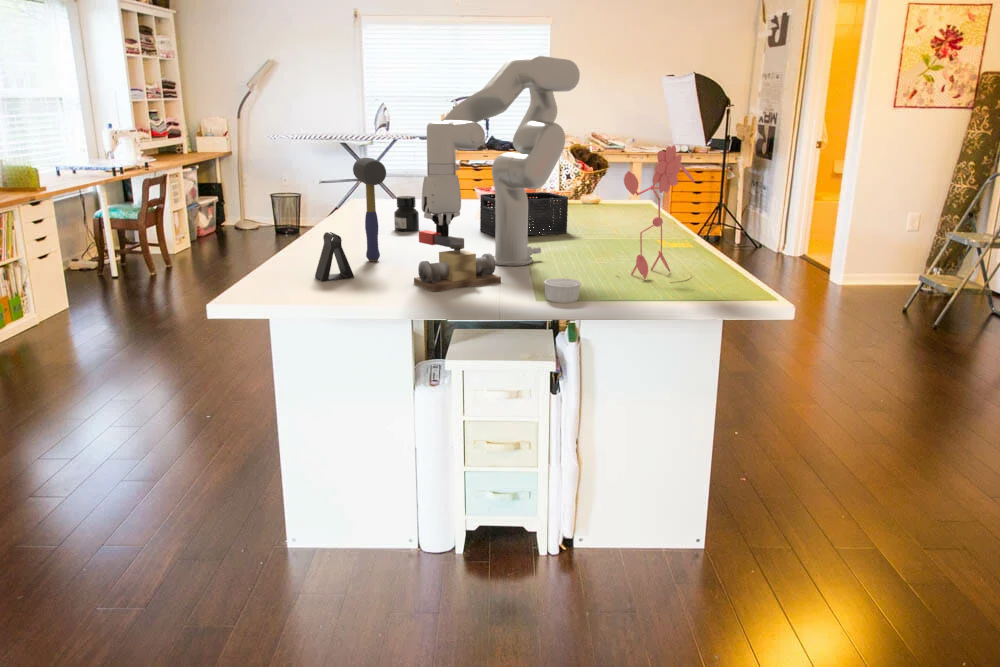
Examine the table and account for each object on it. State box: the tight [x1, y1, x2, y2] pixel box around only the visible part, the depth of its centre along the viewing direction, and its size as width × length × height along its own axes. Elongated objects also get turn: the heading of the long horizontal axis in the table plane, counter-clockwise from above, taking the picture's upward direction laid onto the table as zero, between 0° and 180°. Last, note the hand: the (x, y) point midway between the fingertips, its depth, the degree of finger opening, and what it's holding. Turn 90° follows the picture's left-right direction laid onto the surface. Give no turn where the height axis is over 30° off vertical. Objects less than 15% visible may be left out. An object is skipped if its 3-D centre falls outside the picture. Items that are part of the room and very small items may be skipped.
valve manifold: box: [413, 249, 502, 293], centre depth 201 cm, size 20×11×9 cm, turn 123°
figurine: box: [615, 145, 696, 284], centre depth 206 cm, size 15×26×35 cm, turn 133°
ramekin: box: [543, 277, 582, 304], centre depth 187 cm, size 9×9×4 cm
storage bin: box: [479, 191, 569, 237], centre depth 279 cm, size 29×19×13 cm
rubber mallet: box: [352, 157, 387, 262], centre depth 225 cm, size 12×8×30 cm, turn 25°
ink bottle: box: [393, 195, 420, 232], centre depth 282 cm, size 10×9×12 cm
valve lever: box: [418, 229, 465, 250], centre depth 204 cm, size 16×4×3 cm, turn 43°
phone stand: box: [314, 231, 355, 283], centre depth 206 cm, size 9×6×12 cm, turn 120°
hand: (442, 239), depth 209 cm, fingers closed
